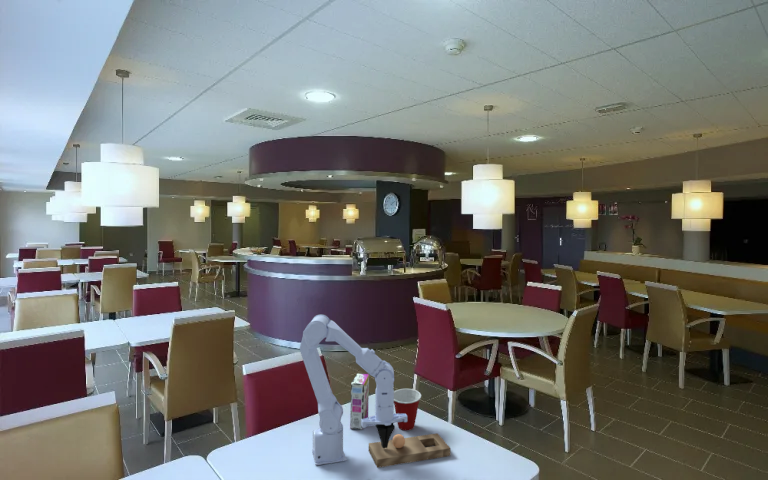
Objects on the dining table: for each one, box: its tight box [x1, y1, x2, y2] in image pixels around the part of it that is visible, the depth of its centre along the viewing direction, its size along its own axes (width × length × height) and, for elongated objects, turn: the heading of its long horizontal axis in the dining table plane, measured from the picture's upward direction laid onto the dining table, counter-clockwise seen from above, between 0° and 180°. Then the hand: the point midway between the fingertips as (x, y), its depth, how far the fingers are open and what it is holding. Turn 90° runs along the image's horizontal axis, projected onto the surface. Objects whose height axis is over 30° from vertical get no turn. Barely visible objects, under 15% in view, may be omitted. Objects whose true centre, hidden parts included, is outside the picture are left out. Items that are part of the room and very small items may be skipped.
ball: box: [391, 433, 406, 448], centre depth 137 cm, size 4×4×4 cm
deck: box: [368, 433, 451, 469], centre depth 138 cm, size 24×10×2 cm, turn 107°
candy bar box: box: [349, 373, 370, 431], centre depth 159 cm, size 11×5×16 cm, turn 172°
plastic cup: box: [394, 388, 422, 431], centre depth 155 cm, size 11×11×12 cm
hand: (384, 446), depth 135 cm, fingers closed
